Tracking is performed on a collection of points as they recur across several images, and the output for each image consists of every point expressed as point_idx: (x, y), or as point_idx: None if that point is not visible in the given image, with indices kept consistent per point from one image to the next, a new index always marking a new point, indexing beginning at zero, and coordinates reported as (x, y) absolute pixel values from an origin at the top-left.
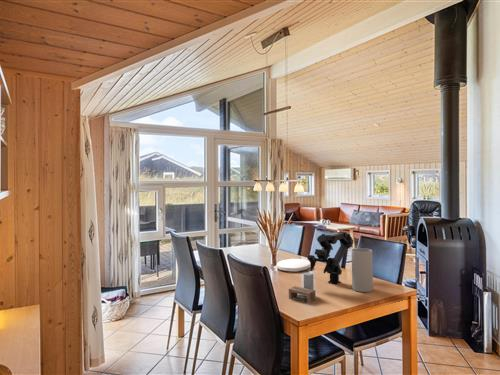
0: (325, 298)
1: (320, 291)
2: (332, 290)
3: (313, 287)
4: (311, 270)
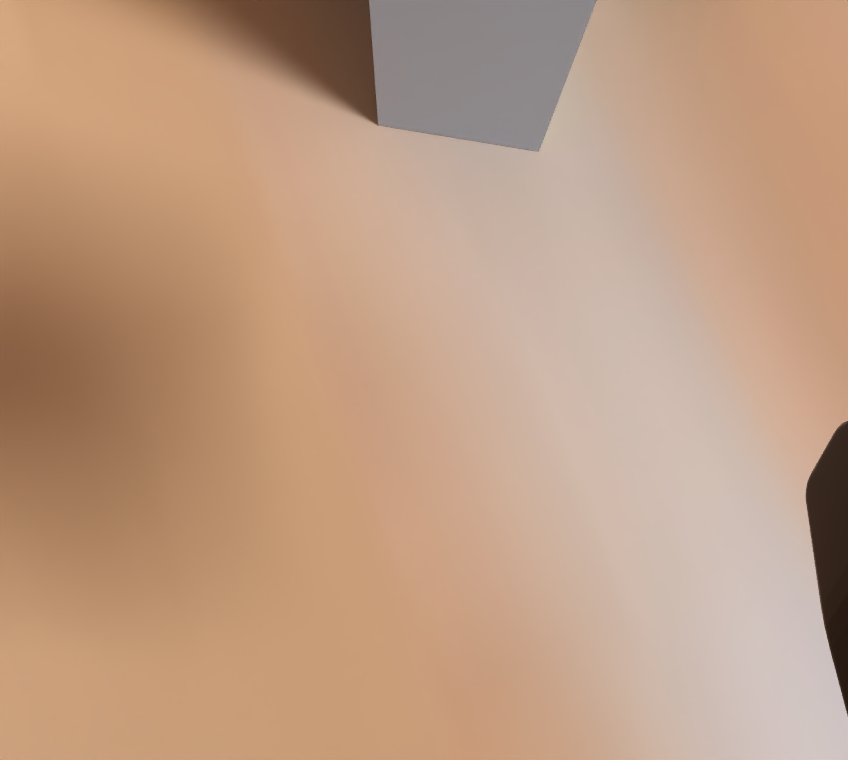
0: (84, 59)
1: (337, 457)
2: (88, 677)
3: (371, 14)
4: (823, 480)
